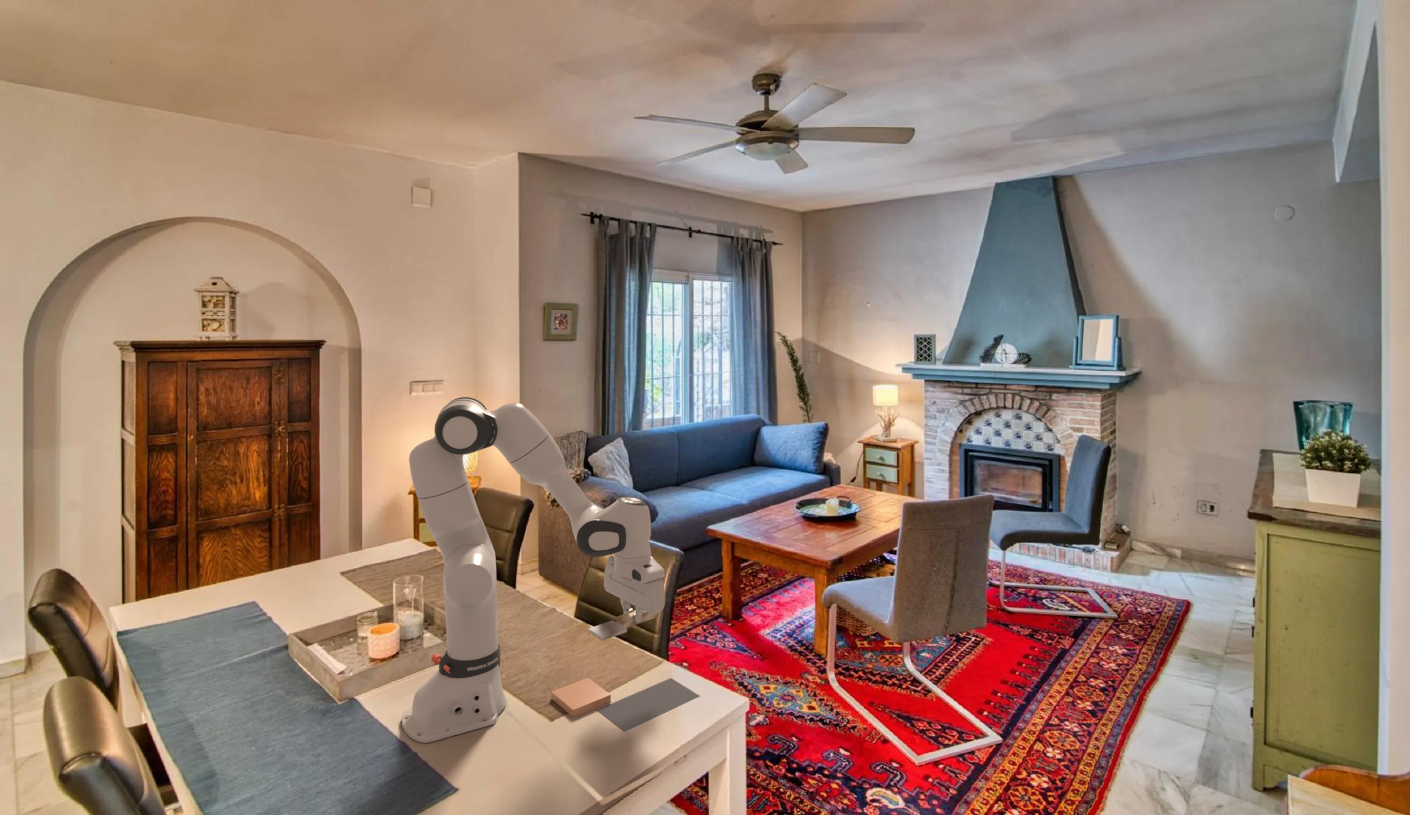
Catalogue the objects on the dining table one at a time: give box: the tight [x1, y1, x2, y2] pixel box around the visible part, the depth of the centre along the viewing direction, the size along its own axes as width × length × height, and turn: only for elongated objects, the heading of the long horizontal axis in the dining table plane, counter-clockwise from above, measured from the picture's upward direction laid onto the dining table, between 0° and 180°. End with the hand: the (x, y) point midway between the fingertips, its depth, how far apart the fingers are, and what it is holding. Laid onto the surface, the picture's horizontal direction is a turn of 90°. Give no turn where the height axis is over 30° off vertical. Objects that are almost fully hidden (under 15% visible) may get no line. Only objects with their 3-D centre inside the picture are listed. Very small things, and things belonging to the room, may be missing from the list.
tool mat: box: [596, 677, 700, 732], centre depth 159 cm, size 22×11×1 cm, turn 132°
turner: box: [587, 609, 660, 641], centre depth 164 cm, size 18×6×2 cm, turn 132°
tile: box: [550, 677, 612, 718], centre depth 159 cm, size 3×10×10 cm
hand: (632, 618), depth 165 cm, fingers closed on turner, 2 cm apart
